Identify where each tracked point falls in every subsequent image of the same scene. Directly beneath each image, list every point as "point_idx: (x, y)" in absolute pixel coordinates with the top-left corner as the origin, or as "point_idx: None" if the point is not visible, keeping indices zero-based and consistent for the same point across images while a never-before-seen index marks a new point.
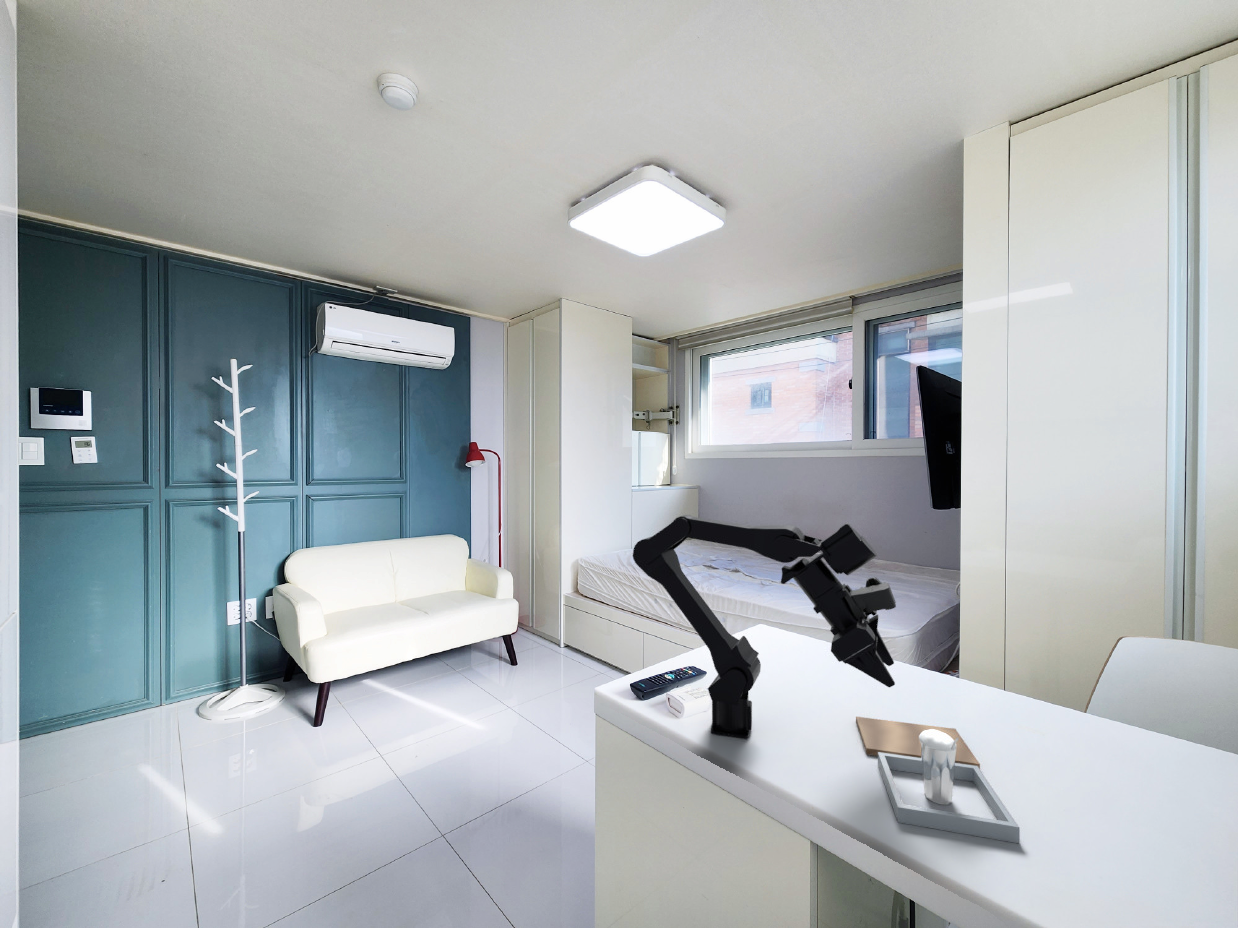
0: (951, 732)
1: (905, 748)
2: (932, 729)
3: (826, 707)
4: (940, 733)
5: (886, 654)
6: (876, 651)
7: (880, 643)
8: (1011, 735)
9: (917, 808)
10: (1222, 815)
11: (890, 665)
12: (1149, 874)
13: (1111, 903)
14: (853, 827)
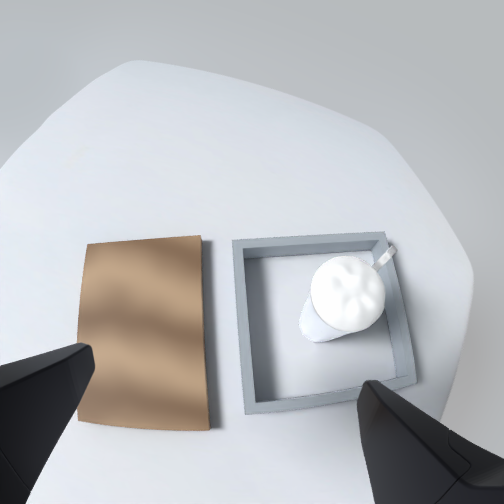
0: (100, 253)
1: (182, 352)
2: (334, 294)
3: (48, 458)
4: (340, 279)
5: (65, 372)
6: (471, 478)
7: (22, 394)
8: (89, 178)
9: (409, 356)
10: (224, 77)
11: (94, 361)
12: (357, 150)
13: (419, 196)
14: None
